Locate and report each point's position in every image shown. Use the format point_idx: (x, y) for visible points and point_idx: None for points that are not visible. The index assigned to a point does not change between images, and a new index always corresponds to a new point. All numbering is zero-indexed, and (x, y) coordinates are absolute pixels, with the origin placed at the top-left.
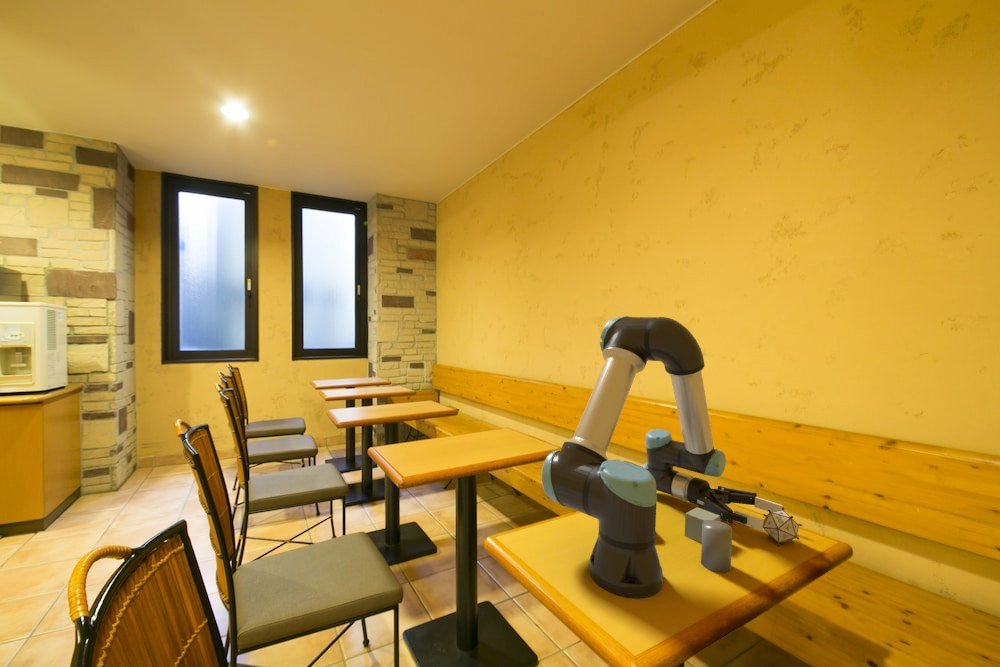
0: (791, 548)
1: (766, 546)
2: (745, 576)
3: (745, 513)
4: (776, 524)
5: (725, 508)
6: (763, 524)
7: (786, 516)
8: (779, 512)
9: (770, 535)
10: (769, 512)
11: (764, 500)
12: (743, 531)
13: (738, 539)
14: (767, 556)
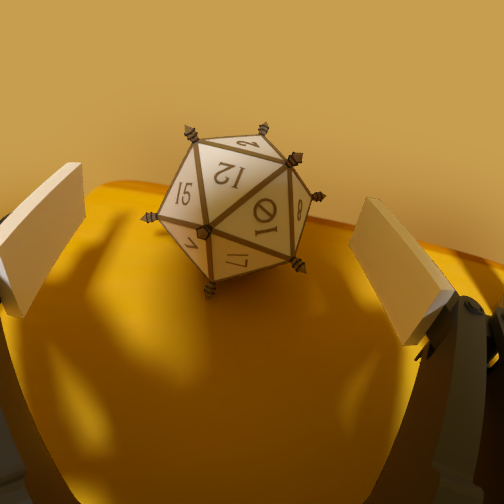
0: None
1: (317, 287)
2: (480, 281)
3: (410, 246)
4: (306, 188)
5: (483, 344)
6: (278, 252)
7: (265, 138)
8: (245, 146)
9: (213, 288)
10: (293, 165)
11: (34, 207)
12: (274, 388)
13: (378, 366)
14: None
